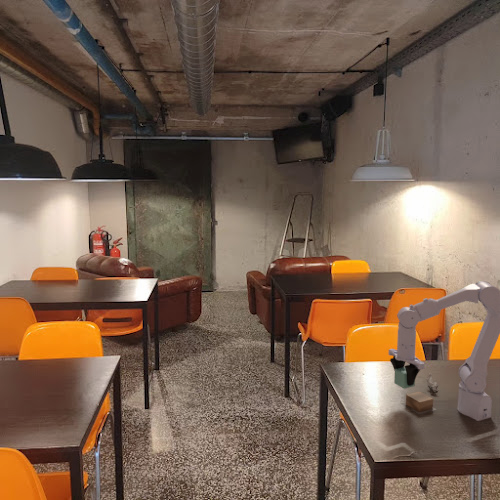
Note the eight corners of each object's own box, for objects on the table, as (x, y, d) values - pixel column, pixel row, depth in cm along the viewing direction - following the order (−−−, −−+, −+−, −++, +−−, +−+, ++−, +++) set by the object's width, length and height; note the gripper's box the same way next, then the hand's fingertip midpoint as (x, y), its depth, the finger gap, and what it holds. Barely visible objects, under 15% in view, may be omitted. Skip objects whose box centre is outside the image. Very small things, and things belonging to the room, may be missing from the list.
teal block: (414, 386, 143) (415, 371, 143) (404, 388, 142) (404, 374, 141) (404, 380, 148) (405, 366, 147) (394, 383, 146) (394, 369, 145)
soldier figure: (442, 386, 163) (450, 390, 152) (432, 394, 163) (440, 399, 152) (427, 370, 166) (434, 372, 154) (418, 378, 166) (424, 381, 154)
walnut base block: (432, 408, 142) (433, 398, 142) (419, 412, 140) (419, 402, 139) (419, 400, 148) (419, 391, 147) (405, 404, 145) (406, 394, 145)
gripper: (382, 338, 148) (380, 375, 149) (413, 352, 135) (411, 393, 136) (398, 335, 151) (396, 372, 152) (430, 349, 137) (428, 389, 139)
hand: (404, 381), depth 144 cm, fingers closed on teal block, 5 cm apart
